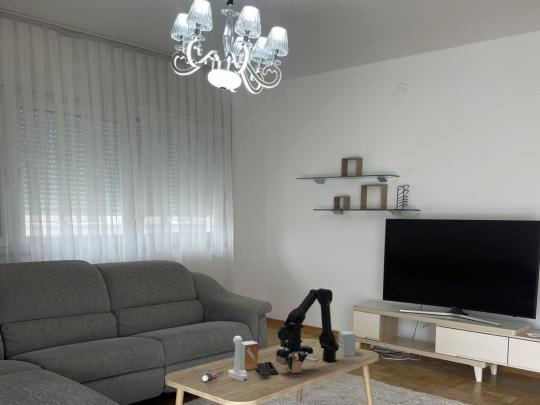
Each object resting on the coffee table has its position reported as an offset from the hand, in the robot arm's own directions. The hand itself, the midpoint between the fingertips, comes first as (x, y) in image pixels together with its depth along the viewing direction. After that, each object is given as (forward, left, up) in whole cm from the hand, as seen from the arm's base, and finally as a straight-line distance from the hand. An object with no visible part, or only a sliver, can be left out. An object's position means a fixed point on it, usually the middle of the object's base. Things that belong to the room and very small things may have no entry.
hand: (294, 368), depth 249 cm
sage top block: (-5, -16, +2) cm, 17 cm away
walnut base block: (-5, -16, -2) cm, 17 cm away
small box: (+18, -16, -2) cm, 24 cm away
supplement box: (-44, -13, -2) cm, 46 cm away
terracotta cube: (0, 0, -1) cm, 1 cm away
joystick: (+28, -6, -2) cm, 29 cm away
